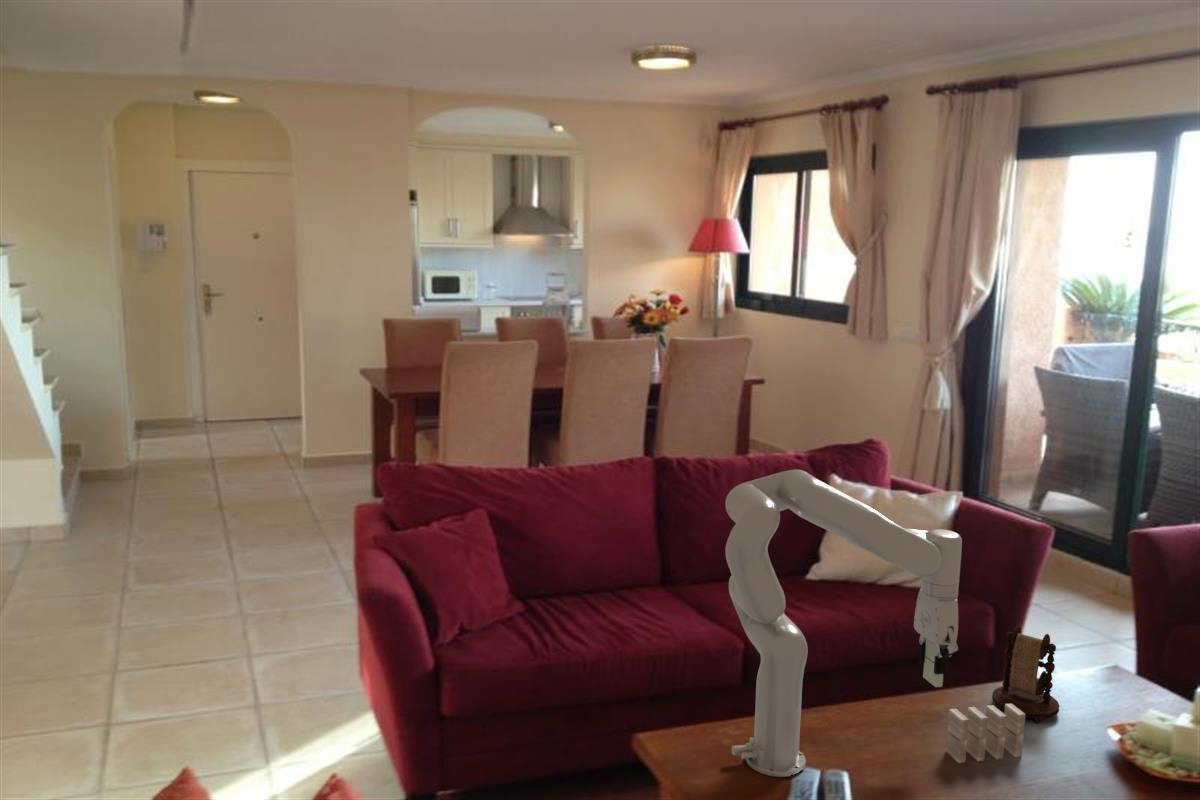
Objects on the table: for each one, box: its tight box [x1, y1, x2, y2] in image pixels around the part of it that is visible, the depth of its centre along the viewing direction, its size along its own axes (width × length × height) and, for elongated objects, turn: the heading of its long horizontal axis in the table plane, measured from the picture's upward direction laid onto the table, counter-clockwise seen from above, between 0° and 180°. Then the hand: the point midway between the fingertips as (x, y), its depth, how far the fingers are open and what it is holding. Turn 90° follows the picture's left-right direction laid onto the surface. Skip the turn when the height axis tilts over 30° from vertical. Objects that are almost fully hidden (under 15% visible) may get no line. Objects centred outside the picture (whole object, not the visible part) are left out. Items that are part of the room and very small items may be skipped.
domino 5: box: [1003, 703, 1026, 758], centre depth 217 cm, size 2×5×10 cm, turn 12°
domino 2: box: [945, 708, 969, 764], centre depth 214 cm, size 2×5×10 cm, turn 12°
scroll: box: [991, 625, 1060, 724], centre depth 236 cm, size 15×15×20 cm
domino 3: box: [966, 706, 988, 762], centre depth 215 cm, size 2×5×10 cm, turn 12°
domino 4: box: [985, 704, 1007, 761], centre depth 216 cm, size 2×5×10 cm, turn 12°
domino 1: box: [922, 639, 946, 688], centre depth 215 cm, size 2×5×10 cm, turn 13°
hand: (933, 666), depth 215 cm, fingers closed on domino 1, 4 cm apart
